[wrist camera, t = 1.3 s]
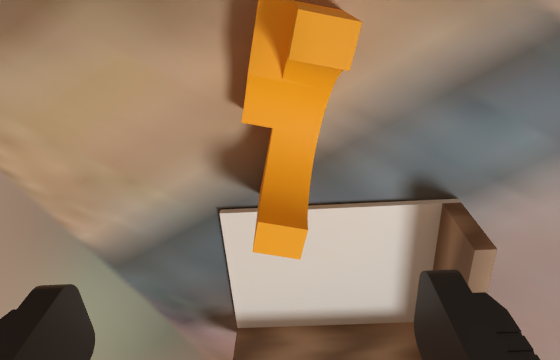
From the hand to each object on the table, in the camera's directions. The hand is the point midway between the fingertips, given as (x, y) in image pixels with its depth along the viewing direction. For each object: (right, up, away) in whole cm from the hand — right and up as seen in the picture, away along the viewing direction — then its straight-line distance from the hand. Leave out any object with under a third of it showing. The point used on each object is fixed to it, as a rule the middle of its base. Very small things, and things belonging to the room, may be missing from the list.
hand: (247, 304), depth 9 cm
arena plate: (+5, -4, +20) cm, 21 cm away
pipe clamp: (+1, +7, +15) cm, 17 cm away
